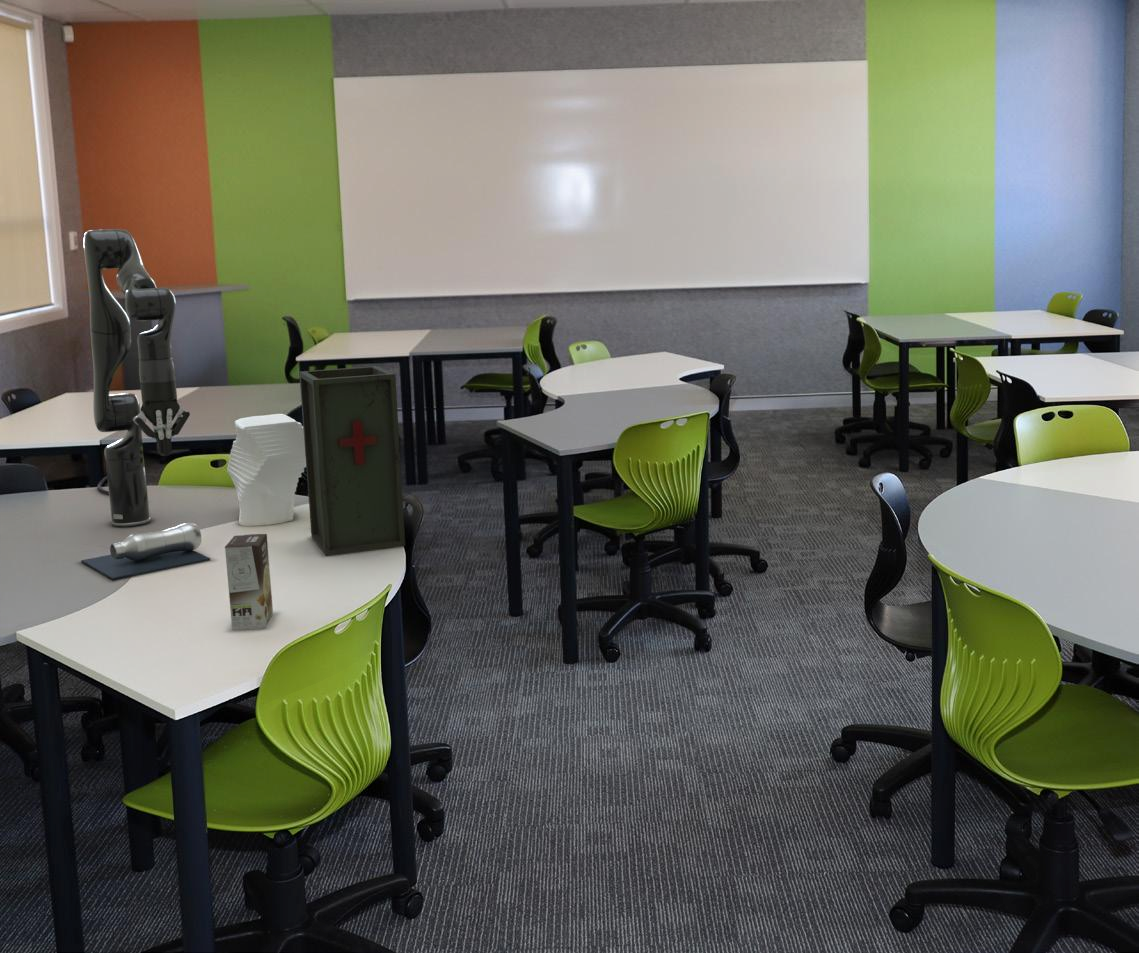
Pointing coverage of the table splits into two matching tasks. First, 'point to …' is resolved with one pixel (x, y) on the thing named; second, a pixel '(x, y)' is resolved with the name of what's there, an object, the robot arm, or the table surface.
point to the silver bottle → (157, 542)
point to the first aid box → (352, 459)
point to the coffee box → (249, 581)
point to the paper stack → (267, 467)
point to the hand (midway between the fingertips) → (164, 455)
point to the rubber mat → (142, 564)
